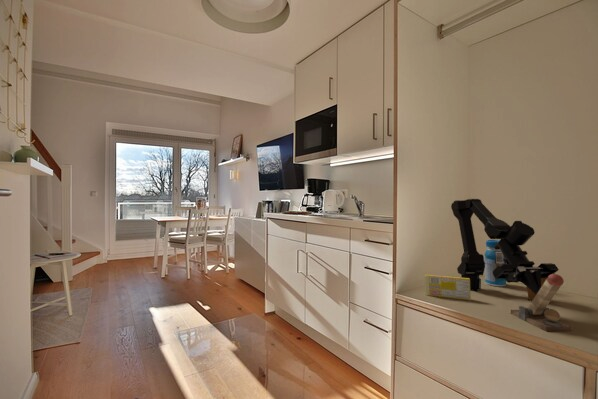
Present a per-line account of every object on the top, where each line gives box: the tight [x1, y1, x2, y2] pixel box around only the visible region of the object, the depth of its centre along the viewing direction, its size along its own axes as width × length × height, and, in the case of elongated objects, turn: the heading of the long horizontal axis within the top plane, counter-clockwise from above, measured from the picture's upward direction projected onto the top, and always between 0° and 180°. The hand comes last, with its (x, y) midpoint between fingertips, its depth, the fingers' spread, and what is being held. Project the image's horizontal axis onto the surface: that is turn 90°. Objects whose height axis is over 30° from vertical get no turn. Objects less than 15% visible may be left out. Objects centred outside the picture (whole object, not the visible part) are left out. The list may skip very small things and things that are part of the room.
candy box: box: [424, 274, 472, 301], centre depth 115 cm, size 16×2×8 cm, turn 65°
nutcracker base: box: [510, 305, 572, 332], centre depth 91 cm, size 14×8×6 cm, turn 1°
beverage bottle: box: [483, 239, 507, 287], centre depth 132 cm, size 8×8×20 cm
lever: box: [527, 273, 565, 315], centre depth 89 cm, size 4×4×17 cm
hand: (539, 295), depth 90 cm, fingers closed, pressing on lever
